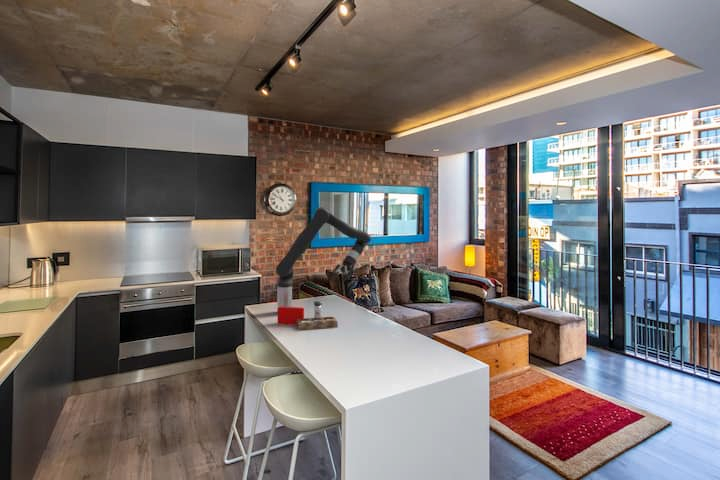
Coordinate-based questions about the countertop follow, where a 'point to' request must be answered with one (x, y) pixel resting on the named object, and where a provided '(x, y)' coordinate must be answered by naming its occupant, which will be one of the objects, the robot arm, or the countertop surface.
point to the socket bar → (317, 323)
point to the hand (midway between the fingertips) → (338, 279)
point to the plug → (317, 309)
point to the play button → (290, 315)
